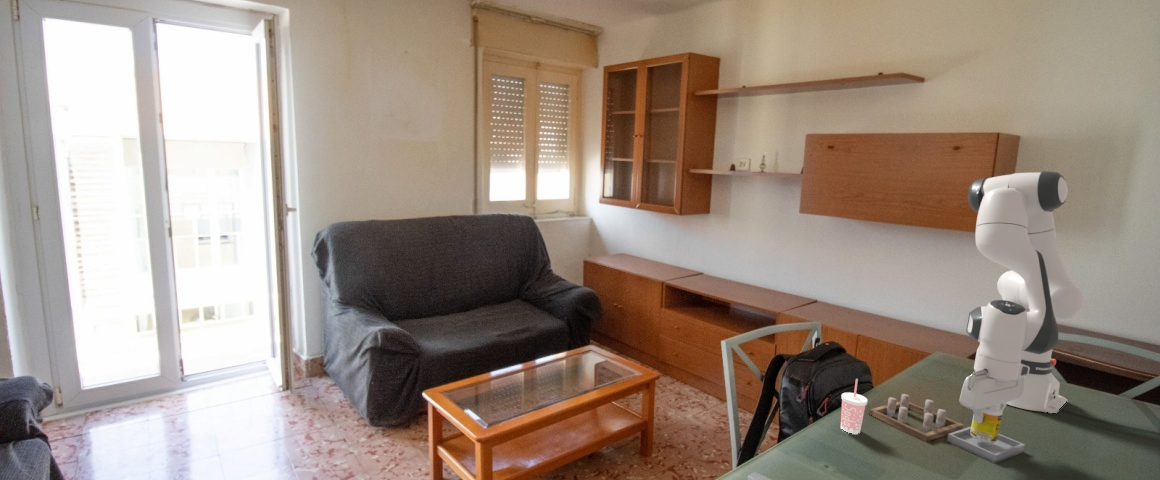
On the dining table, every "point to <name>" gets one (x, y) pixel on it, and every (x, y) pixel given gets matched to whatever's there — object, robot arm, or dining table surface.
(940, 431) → the wooden peg board
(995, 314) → the robot arm
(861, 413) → the beverage cup
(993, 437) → the supplement bottle
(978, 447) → the tray
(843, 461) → the dining table surface
